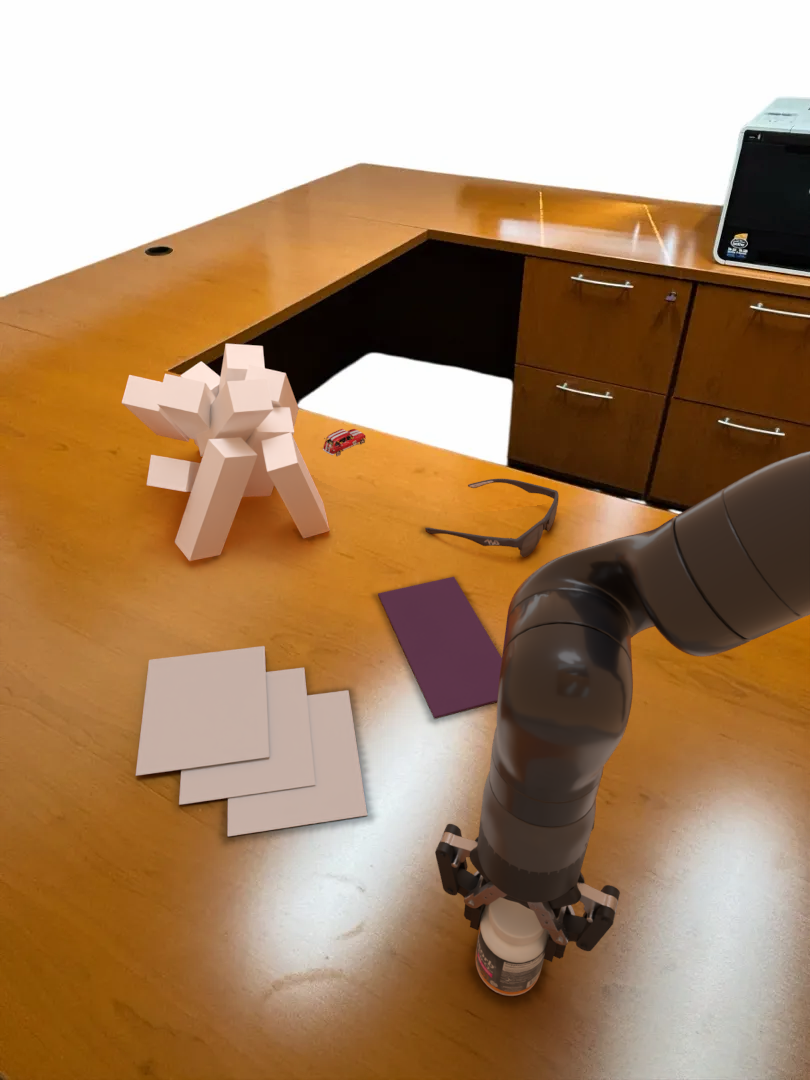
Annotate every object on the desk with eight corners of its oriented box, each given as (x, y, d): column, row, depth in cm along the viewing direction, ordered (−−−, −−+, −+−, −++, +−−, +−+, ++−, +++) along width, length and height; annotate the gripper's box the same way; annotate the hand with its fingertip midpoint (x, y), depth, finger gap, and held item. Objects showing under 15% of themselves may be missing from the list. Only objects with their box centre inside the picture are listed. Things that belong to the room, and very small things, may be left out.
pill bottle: (466, 938, 69) (472, 881, 63) (527, 923, 70) (539, 865, 64) (486, 1006, 65) (495, 951, 58) (551, 989, 66) (566, 934, 59)
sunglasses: (524, 573, 108) (523, 544, 105) (421, 545, 116) (418, 517, 113) (569, 514, 119) (570, 486, 116) (472, 492, 127) (471, 465, 124)
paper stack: (340, 640, 98) (340, 636, 97) (367, 815, 78) (367, 811, 78) (150, 663, 95) (149, 659, 94) (128, 852, 75) (126, 848, 75)
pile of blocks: (111, 513, 128) (6, 392, 96) (234, 392, 137) (176, 244, 105) (267, 638, 119) (209, 549, 87) (388, 499, 128) (376, 373, 96)
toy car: (368, 443, 136) (367, 427, 134) (332, 459, 131) (331, 443, 130) (354, 435, 138) (354, 419, 136) (319, 451, 134) (318, 435, 132)
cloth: (522, 695, 91) (522, 693, 91) (434, 718, 88) (434, 716, 88) (453, 578, 107) (454, 576, 107) (377, 595, 105) (377, 593, 104)
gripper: (418, 826, 53) (416, 941, 63) (630, 909, 48) (590, 1018, 59) (456, 743, 58) (448, 861, 69) (650, 811, 54) (610, 927, 64)
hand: (514, 933), depth 64 cm, fingers closed on pill bottle, 5 cm apart
